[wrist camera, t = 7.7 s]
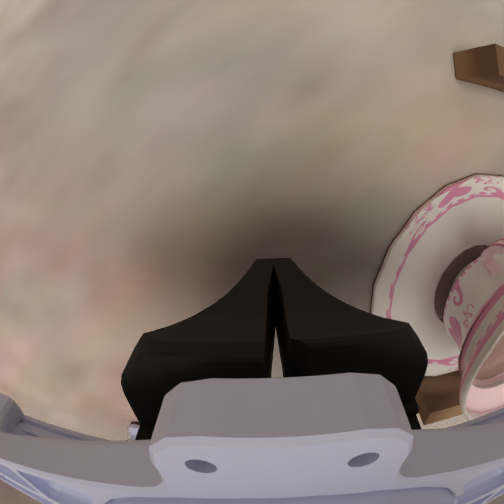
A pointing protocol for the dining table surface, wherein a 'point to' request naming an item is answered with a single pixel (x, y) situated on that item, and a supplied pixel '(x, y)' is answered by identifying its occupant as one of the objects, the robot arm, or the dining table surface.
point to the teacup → (453, 287)
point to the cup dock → (447, 385)
